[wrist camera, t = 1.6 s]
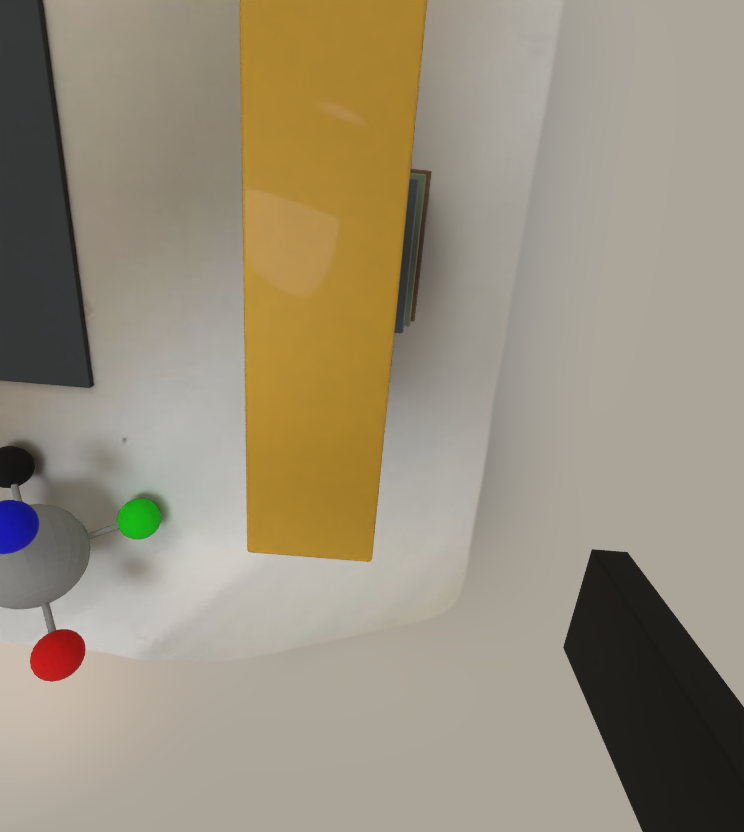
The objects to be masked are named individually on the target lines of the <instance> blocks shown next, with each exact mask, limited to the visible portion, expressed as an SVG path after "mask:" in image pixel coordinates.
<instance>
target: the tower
mask: <svg viewBox="0 0 744 832" xmlns="http://www.w3.org/2000/svg"><path fill="white" fill-rule="evenodd" d="M430 179H431V171H427V170H416V169H410V180H409V190H408V200H407V210H406V220H405V230H404V240H403V250H402V260H401V270H400V281H399V291H398V301H397V311H396V321H395V331H394V333H403V328H404V326H409V325H410V321H414V320H415V311H416V302H417V294H418V285H419V276H420V267H421V258H422V249H423V241H424V232H425V223H426V214H427V205H428V196H429V188H430Z"/></svg>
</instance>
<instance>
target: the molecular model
mask: <svg viewBox="0 0 744 832" xmlns="http://www.w3.org/2000/svg"><path fill="white" fill-rule="evenodd" d="M34 468H35V464H34V459H33V458H32V456H31V455H30V454H29V453H28V452H27V451H26V450H24V449H22V448H19V447H15V446H6V447H1V448H0V487H2V488H12V492H13V496H14V500H5V501H1V502H0V606H1V607H5V608H10V609H30V608H35V607H40V606H42V609H43V613H44V617H45V621H46V625H47V628H48V632H49V634H47V635H45V636H44V637H43V638H42V639H40V640H39V641H38V643H37V644H36V645H35V647H34V648H33V651H32V653H31V658H30V664H31V669H32V670H33V672H34V674H35V675H36V676H37V677H38V678H40V679H42V680H45V681H59V680H61V679H64V678H66V677H68V676H70V675H71V674H73V673H74V672H75V671H76V670H77V669H78V668H79V666H80V665H81V663H82V661H83V658H84V656H85V643H84V640H83V639H82V637H81V636H80V635H79V634H78V633H76V632H74V631H72V630H68V629H61V630H56V628H55V624H54V620H53V616H52V612H51V609H50V605H49V603H51V602H53V601H54V600H56V599H58V598H60V597H61V596H63V595H64V594H66V593H67V592H68V591H69V590H71V589H72V587H73V586H74V585H75V584H76V583H77V582H78V581H79V579H80V578H81V577H82V575H83V573H84V572H85V570H86V567H87V565H88V561H89V556H90V540H89V539H91V538H94V537H96V536H99V535H102V534H105V533H108V532H111V531H114V530H117V529H119V530H120V531H121V532H122V533H123V535H125V536H126V537H128V538H131V539H144V538H147V537H149V536H150V535H152V534H153V533H154V532H155V531H156V530H157V529H158V527H159V525H160V522H161V513H160V510H159V508H158V506H157V505H156V504H155V503H153V502H152V501H150V500H147V499H135V500H132V501H129V502H128V503H126V504H125V505H124V506H123V507H122V508H121V510H120V511H119V513H118V518H117V524H114V525H111V526H108V527H105V528H102V529H99V530H96V531H93V532H90V533H87V531H86V529H85V527H84V526H83V524H82V523H81V522H80V521H79V520H78V519H77V518H76V517H75V516H74V515H72V514H71V513H70V512H68V511H66V510H64V509H62V508H59V507H55V506H51V505H45V504H34V505H28V504H26V503H24V502H22V499H21V495H20V491H19V487H18V486H20V485H22V484H23V483H25V482H26V481H28V480H29V479H30V478H31V476H32V474H33V472H34Z"/></svg>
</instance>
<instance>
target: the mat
mask: <svg viewBox="0 0 744 832" xmlns="http://www.w3.org/2000/svg"><path fill="white" fill-rule="evenodd" d="M0 380H2V381H14V382H26V383H38V384H50V385H62V386H74V387H86V388H90V387H92V386H93V382H92V374H91V367H90V359H89V352H88V344H87V337H86V329H85V321H84V314H83V306H82V299H81V291H80V284H79V276H78V269H77V261H76V254H75V246H74V239H73V231H72V224H71V216H70V209H69V201H68V194H67V186H66V179H65V171H64V164H63V156H62V149H61V141H60V134H59V126H58V119H57V111H56V104H55V96H54V89H53V81H52V74H51V66H50V59H49V51H48V43H47V36H46V28H45V21H44V13H43V6H42V0H0Z"/></svg>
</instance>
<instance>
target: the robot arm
mask: <svg viewBox="0 0 744 832" xmlns="http://www.w3.org/2000/svg"><path fill="white" fill-rule="evenodd" d="M564 650H565V652H566V655H567V657H568V659H569V662H570V664H571V666H572V669H573V671H574V673H575V675H576V678H577V680H578V683H579V685H580V687H581V690H582V692H583V694H584V696H585V699H586V701H587V704H588V706H589V708H590V711H591V713H592V715H593V718H594V720H595V722H596V724H597V727H598V729H599V731H600V734H601V736H602V738H603V741H604V743H605V745H606V748H607V750H608V752H609V754H610V757H611V759H612V762H613V764H614V766H615V769H616V771H617V773H618V776H619V778H620V780H621V782H622V785H623V787H624V789H625V792H626V794H627V797H628V799H629V801H630V804H631V806H632V808H633V810H634V813H635V815H636V817H637V820H638V822H639V824H640V827H641V829H642V831H643V832H744V707H743V705H742V704H741V703H740V701H739V700H738V699H737V698H736V696H735V695H734V693H733V692H732V691H731V690H730V688H729V687H728V686H727V684H726V683H725V682H724V680H723V679H722V678H721V676H720V675H719V674H718V672H717V671H716V670H715V668H714V667H713V666H712V664H711V663H710V662H709V660H708V659H707V658H706V656H705V655H704V654H703V652H702V651H701V650H700V648H699V647H698V646H697V644H696V643H695V642H694V640H693V639H692V638H691V636H690V635H689V634H688V632H687V631H686V630H685V628H684V627H683V626H682V624H681V623H680V622H679V620H678V619H677V618H676V616H675V615H674V614H673V612H672V611H671V610H670V609H669V607H668V606H667V604H666V603H665V602H664V600H663V599H662V598H661V596H660V595H659V594H658V592H657V591H656V590H655V588H654V587H653V586H652V584H651V583H650V582H649V580H648V579H647V578H646V576H645V575H644V574H643V572H642V571H641V570H640V568H639V567H638V566H637V565H636V563H635V562H634V560H633V559H632V558H631V557H630V555H629V554H628V552H618V551H617V552H616V551H605V550H592V551H591V555H590V558H589V561H588V565H587V568H586V572H585V575H584V578H583V582H582V585H581V589H580V592H579V596H578V599H577V602H576V606H575V610H574V613H573V616H572V620H571V623H570V627H569V630H568V633H567V637H566V640H565V644H564Z"/></svg>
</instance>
